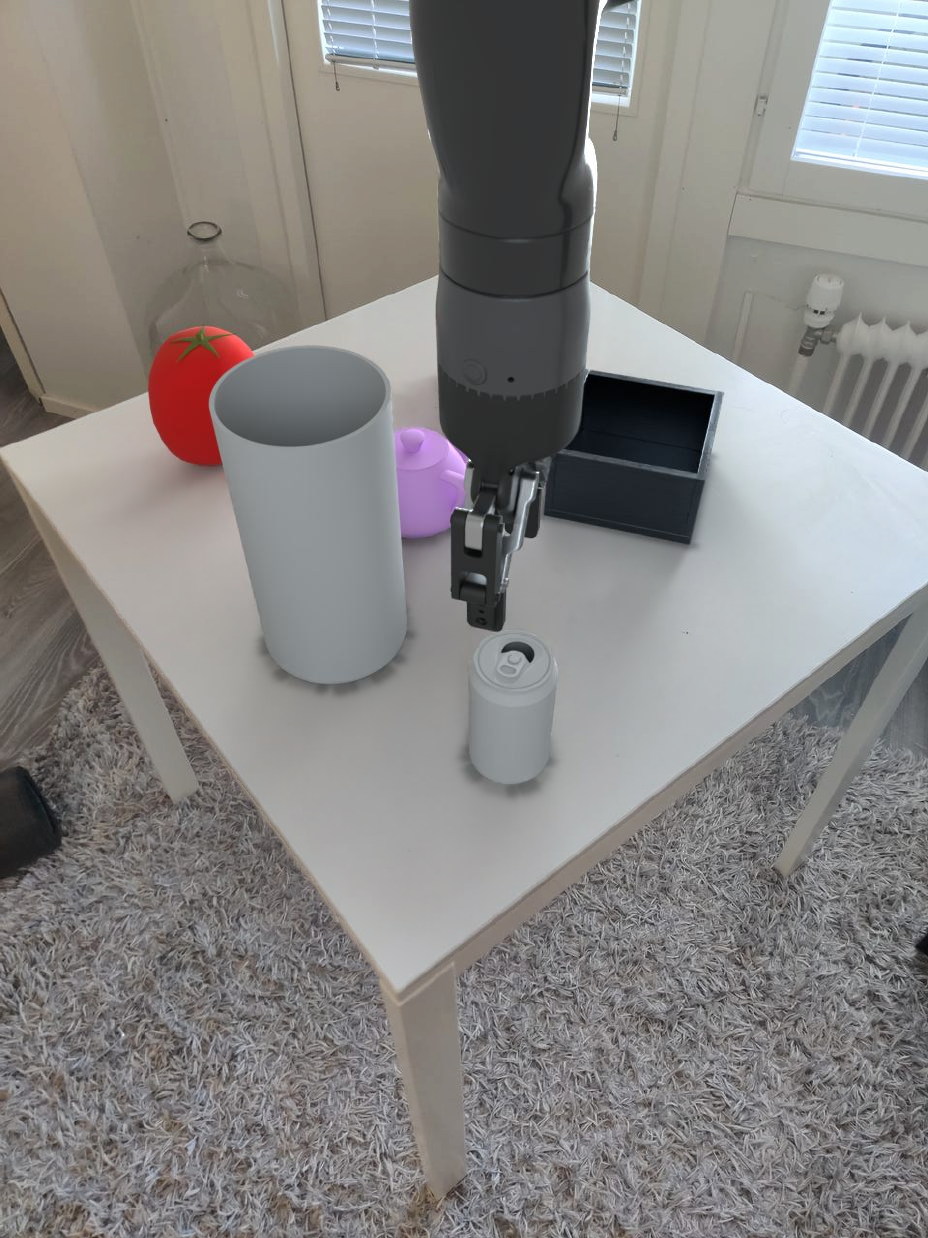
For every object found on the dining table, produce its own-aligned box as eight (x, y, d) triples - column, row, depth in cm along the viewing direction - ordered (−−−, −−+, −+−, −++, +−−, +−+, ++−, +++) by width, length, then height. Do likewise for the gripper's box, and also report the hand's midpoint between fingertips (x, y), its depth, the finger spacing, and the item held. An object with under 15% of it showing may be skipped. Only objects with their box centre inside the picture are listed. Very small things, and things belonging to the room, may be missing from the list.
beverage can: (560, 739, 76) (572, 641, 67) (530, 801, 72) (539, 707, 63) (488, 712, 78) (490, 613, 69) (455, 772, 74) (453, 676, 65)
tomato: (204, 500, 96) (171, 380, 86) (143, 451, 101) (105, 333, 91) (301, 446, 102) (282, 328, 92) (239, 403, 108) (214, 286, 97)
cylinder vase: (370, 706, 78) (340, 468, 60) (239, 663, 82) (172, 424, 63) (429, 604, 86) (419, 365, 68) (308, 569, 89) (266, 331, 71)
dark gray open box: (709, 455, 101) (724, 391, 95) (689, 545, 91) (705, 480, 86) (575, 431, 104) (582, 367, 98) (543, 515, 94) (548, 451, 88)
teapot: (477, 467, 100) (478, 396, 93) (472, 558, 90) (472, 486, 84) (365, 463, 100) (358, 392, 93) (348, 554, 91) (339, 483, 84)
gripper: (552, 443, 42) (535, 675, 54) (612, 288, 51) (587, 515, 63) (392, 416, 43) (411, 647, 55) (479, 270, 52) (478, 495, 64)
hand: (504, 576), depth 59 cm, fingers open, 8 cm apart
